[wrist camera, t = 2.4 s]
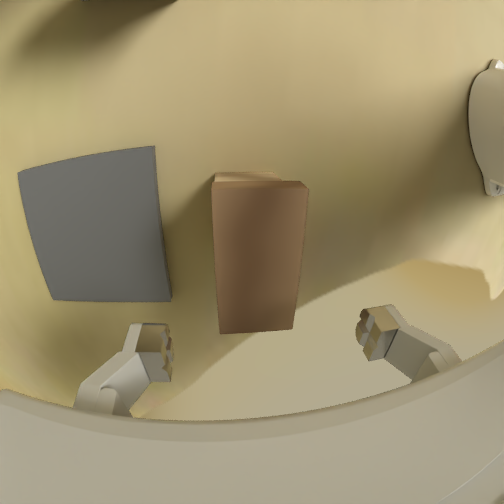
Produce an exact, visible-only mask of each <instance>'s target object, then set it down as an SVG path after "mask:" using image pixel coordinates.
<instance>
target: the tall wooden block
mask: <svg viewBox="0 0 504 504" xmlns="http://www.w3.org/2000/svg"><path fill="white" fill-rule="evenodd" d="M308 192H309V189H308V188H307V187H306V186H305V185H304V184H302V183H301V182H300V181H282V180H281V179H280V178H279V177H278V176H277V175H276V174H275V173H274V172H230V173H215V182H212V188H211V196H212V222H213V242H214V260H215V276H216V291H217V305H218V318H219V330H220V334H234V333H252V332H266V331H278V330H289V329H292V328H293V321H294V314H295V308H296V301H297V293H298V286H299V278H300V270H301V262H302V253H303V244H304V235H305V225H306V215H307V204H308Z"/></svg>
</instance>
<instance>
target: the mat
mask: <svg viewBox="0 0 504 504" xmlns="http://www.w3.org/2000/svg"><path fill="white" fill-rule="evenodd" d="M18 180H19V186H20V192H21V197H22V202H23V207H24V211H25V215H26V220H27V224H28V228H29V231H30V235H31V239H32V242H33V245H34V249H35V252H36V255H37V258H38V261H39V264H40V267H41V270H42V273H43V275H44V278H45V281H46V283H47V286H48V289H49V291H50V294H51V296H52V298H53V300H64V301H93V302H171V299H172V291H171V285H170V279H169V273H168V267H167V261H166V254H165V247H164V240H163V232H162V224H161V216H160V206H159V196H158V185H157V173H156V159H155V146H148V147H139V148H131V149H123V150H116V151H110V152H104V153H98V154H92V155H86V156H81V157H76V158H71V159H67V160H62V161H58V162H53V163H49V164H45V165H41V166H37V167H33V168H30V169H26V170H23V171H21V172H18Z"/></svg>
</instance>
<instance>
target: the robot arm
mask: <svg viewBox="0 0 504 504" xmlns="http://www.w3.org/2000/svg"><path fill="white" fill-rule="evenodd" d="M469 130H470V138H471V143H472V148H473V151H474V155H475V158H476V160H477V163H478V165H479V167H480V169H481V171H482V174H483V178H484V186H485V191H486V194H487V195H490V196H493V197H494V196H499V195H504V64H503V63H502V62H501V61H500V60H496V59H493V60H492V62H491V64H490V66H489V68H488V69H487V70H486V71H483V72H481V73H480V74H479V75H478V76H477V77H476V79H475V81H474V83H473V85H472V89H471V93H470V99H469ZM360 318H361V320H360V321H359V323H357V326H356V338H357V341H358V343H359V344H360V345H362V346H364V348H363V352H364V354H365V356H366V357H367V359H368V361H372V360H377V359H382V358H384V359H385V360H386V361H388V362H389V363H390V364H392V365H393V366H394V367H396V368H397V369H398V370H400V371H401V372H402V373H404V374H405V375H406V376H408V377H409V378H410V379H412V381H411V383H410V384H408V385H405V386H402V387H399V388H396V389H393V390H390V391H387V392H384V393H380V394H377V395H374V396H370V397H367V398H363V399H359V400H356V401H352V402H348V403H344V404H339V405H335V406H330V407H326V408H321V409H316V410H310V411H305V412H299V413H293V414H285V415H279V416H270V417H261V418H250V419H237V420H214V421H178V420H156V419H144V418H133V416H132V415H131V413H130V412H129V409H130V408H131V407H132V405H133V404H134V403H135V402H136V400H137V399H138V398H139V397H140V395H141V394H142V393H143V392H144V391H145V389H146V388H147V387H148V386H149V384H150V383H151V382H171V374H172V367H171V364H170V363H171V362H172V361H173V356H174V353H173V342H172V339H171V338H170V337H169V332H170V330H169V326H168V324H156V323H132V324H131V325H130V327H129V330H128V333H127V336H126V339H125V342H124V346H123V349H122V352H117V353H116V354H115V355H114V356H113V357H111V358H110V359H109V360H108V361H107V362H105V363H104V364H103V365H102V366H101V367H99V368H98V369H97V370H96V371H95V372H94V373H92V374H91V375H90V376H89V377H88V378H86V379H85V380H84V381H83V382H82V383H81V384H80V387H79V390H78V393H77V396H76V399H75V402H74V405H73V408H72V407H67V406H63V405H59V404H55V403H51V402H47V401H44V400H40V399H37V398H33V397H30V396H27V395H24V394H21V393H18V392H16V391H13V390H10V389H2V390H0V504H504V340H502V341H500V342H498V343H496V344H495V345H493V346H491V347H489V348H488V349H486V350H484V351H482V352H480V353H479V354H476V355H475V356H473V357H471V358H469V359H467V360H465V361H463V362H462V360H461V359H460V358H459V356H458V355H457V354H456V352H455V351H454V350H453V349H452V347H451V346H450V345H449V344H447V343H445V342H443V341H441V340H439V339H437V338H435V337H433V336H431V335H429V334H428V333H426V332H424V331H422V330H420V329H418V328H416V327H414V326H409V325H408V323H407V322H406V321H405V319H404V318H403V317H402V315H401V314H400V313H399V312H398V310H397V309H396V308H395V306H394V305H392V304H390V305H384V306H379V307H373V308H367V309H363V310H362V311H361V314H360Z"/></svg>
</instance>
